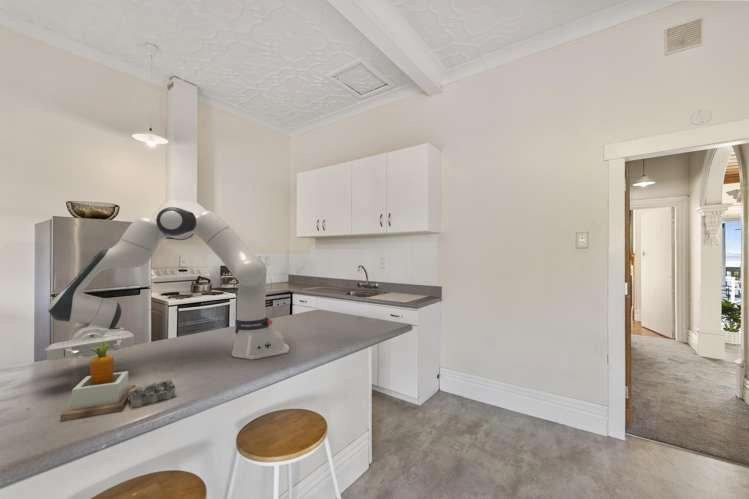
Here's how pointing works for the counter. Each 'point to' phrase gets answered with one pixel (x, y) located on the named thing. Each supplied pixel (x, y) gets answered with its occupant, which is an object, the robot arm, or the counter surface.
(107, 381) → the carrot
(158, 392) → the egg carton
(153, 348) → the counter surface
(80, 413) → the walnut board
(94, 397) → the square open planter
